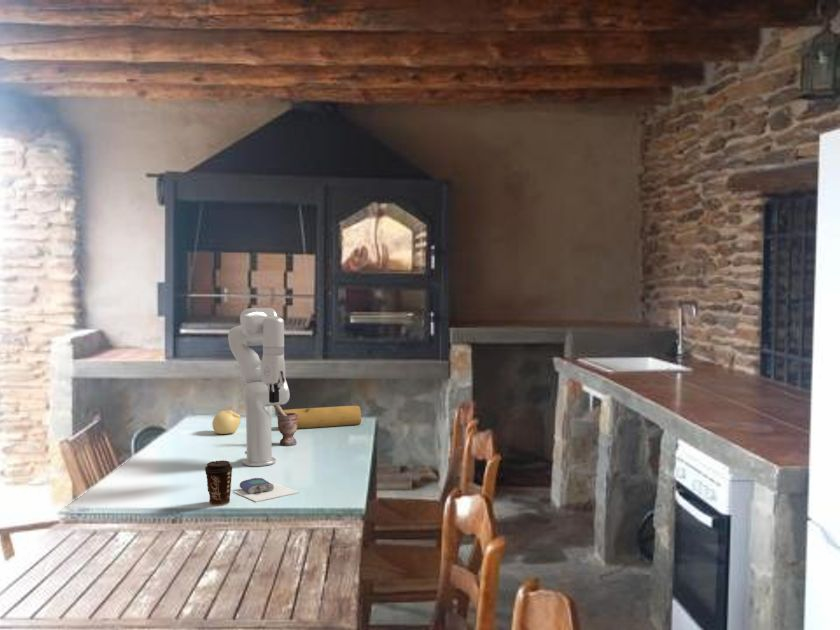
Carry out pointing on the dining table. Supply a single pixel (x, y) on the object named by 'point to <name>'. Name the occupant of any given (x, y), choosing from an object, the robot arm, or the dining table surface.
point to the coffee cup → (219, 482)
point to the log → (327, 416)
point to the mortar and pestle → (286, 426)
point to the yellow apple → (226, 422)
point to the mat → (267, 493)
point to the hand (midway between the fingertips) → (274, 402)
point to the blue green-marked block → (256, 485)
